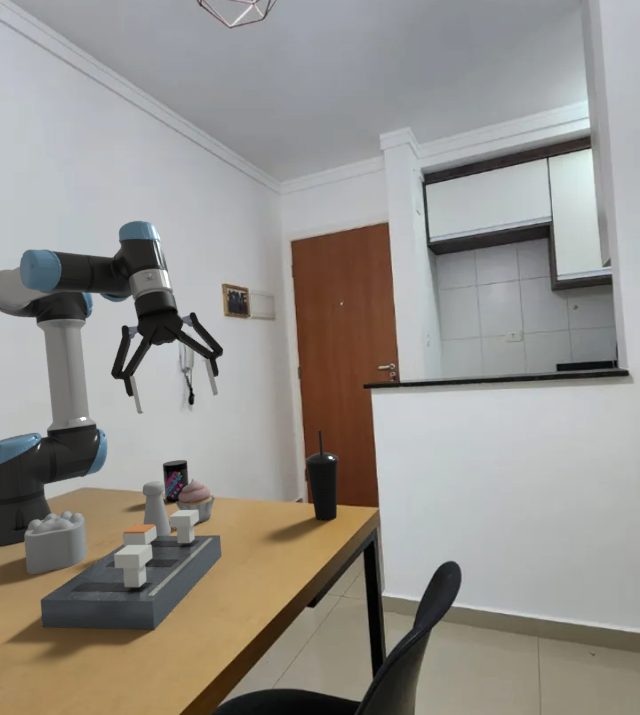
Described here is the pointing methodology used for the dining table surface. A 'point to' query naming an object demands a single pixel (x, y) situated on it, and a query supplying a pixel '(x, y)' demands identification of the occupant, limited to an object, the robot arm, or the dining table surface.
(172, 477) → the supplement container
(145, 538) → the block
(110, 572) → the panel
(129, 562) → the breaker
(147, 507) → the salt shaker
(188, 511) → the breaker
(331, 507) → the drinking cup
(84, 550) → the lumpy-topped squat cylinder
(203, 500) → the cupcake
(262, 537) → the dining table surface
